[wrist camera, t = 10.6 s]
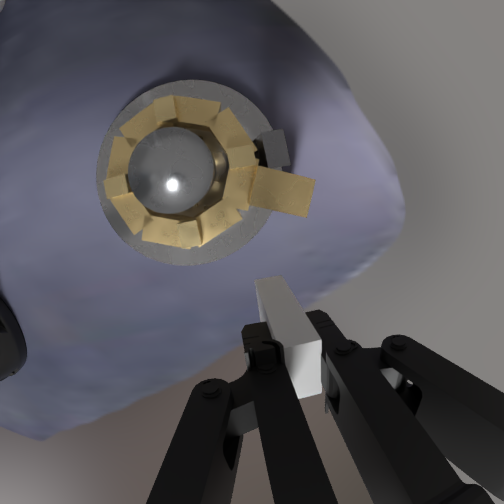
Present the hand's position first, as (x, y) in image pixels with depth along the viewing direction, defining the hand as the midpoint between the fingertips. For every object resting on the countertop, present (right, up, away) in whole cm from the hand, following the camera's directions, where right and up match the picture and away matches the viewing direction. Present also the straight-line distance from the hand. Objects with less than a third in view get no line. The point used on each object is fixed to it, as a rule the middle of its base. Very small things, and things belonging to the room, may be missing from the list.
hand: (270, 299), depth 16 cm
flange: (-7, +11, +11) cm, 17 cm away
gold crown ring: (-5, +10, +9) cm, 14 cm away
